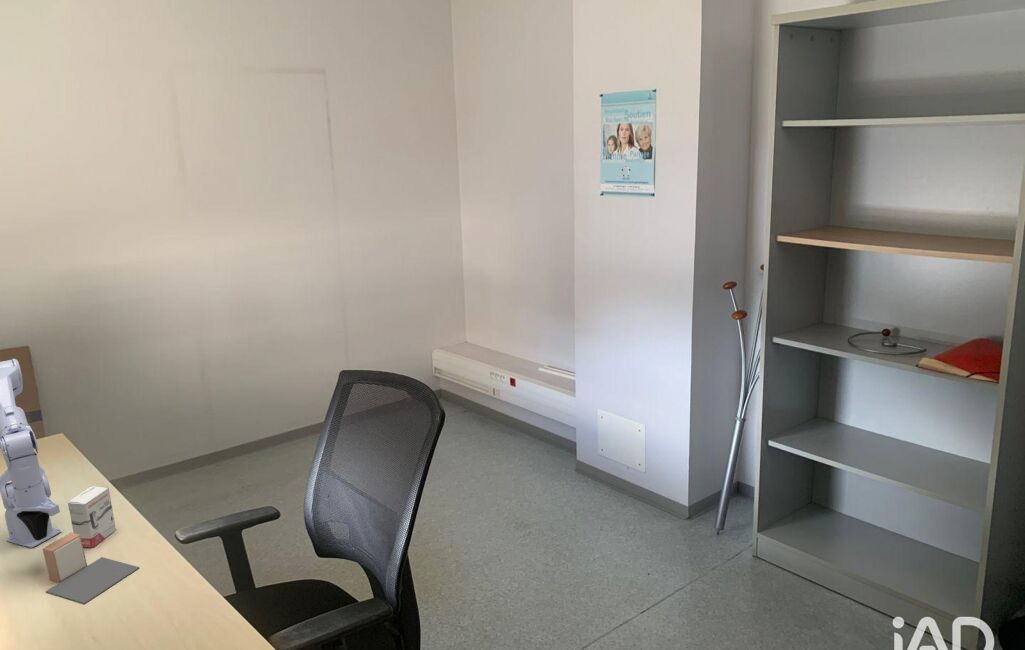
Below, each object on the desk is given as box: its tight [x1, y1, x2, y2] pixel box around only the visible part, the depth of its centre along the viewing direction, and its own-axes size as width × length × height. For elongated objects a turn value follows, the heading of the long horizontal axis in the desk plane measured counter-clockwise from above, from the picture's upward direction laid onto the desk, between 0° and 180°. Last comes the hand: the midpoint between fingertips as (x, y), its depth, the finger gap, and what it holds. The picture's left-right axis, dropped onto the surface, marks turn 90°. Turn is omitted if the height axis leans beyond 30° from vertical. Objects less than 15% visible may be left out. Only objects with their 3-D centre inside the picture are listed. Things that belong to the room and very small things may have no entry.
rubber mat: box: [45, 556, 140, 605], centre depth 173 cm, size 12×14×1 cm
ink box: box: [67, 485, 117, 548], centre depth 189 cm, size 9×5×12 cm, turn 168°
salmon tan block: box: [42, 532, 88, 584], centre depth 175 cm, size 3×7×8 cm, turn 156°
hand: (40, 538), depth 177 cm, fingers closed
